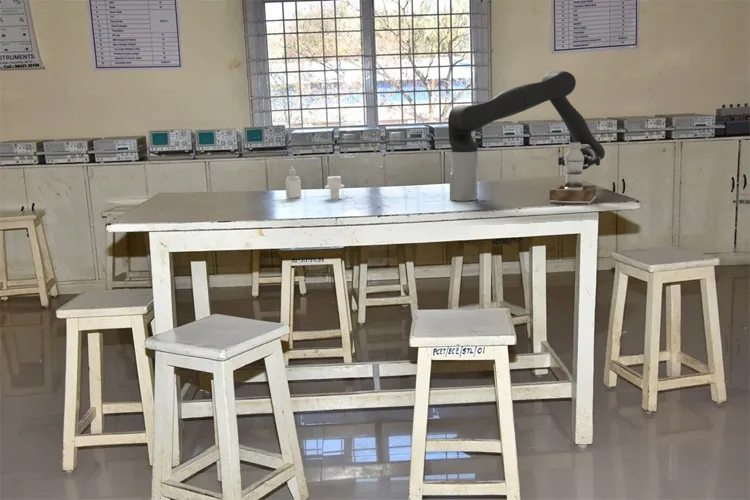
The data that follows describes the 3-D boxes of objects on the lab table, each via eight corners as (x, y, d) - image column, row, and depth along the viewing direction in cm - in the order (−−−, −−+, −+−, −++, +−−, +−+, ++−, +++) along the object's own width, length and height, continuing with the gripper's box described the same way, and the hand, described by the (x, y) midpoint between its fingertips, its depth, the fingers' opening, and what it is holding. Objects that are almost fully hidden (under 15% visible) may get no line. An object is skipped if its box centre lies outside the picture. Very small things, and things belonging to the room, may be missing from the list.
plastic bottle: (578, 202, 252) (580, 143, 248) (560, 201, 256) (561, 142, 252) (586, 200, 257) (588, 141, 253) (567, 198, 261) (569, 141, 257)
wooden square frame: (549, 202, 253) (549, 189, 252) (556, 197, 265) (557, 184, 264) (590, 204, 248) (590, 190, 247) (595, 198, 260) (596, 185, 259)
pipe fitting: (333, 200, 273) (332, 178, 271) (322, 198, 279) (321, 177, 277) (347, 198, 277) (346, 176, 275) (336, 196, 282) (336, 175, 281)
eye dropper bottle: (301, 198, 280) (299, 166, 277) (286, 199, 279) (284, 167, 277) (301, 196, 284) (299, 165, 281) (286, 197, 283) (284, 166, 281)
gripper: (564, 148, 274) (555, 152, 260) (604, 148, 268) (597, 152, 254) (563, 168, 276) (555, 173, 261) (603, 168, 270) (597, 174, 256)
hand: (576, 163), depth 258 cm, fingers open, 8 cm apart
